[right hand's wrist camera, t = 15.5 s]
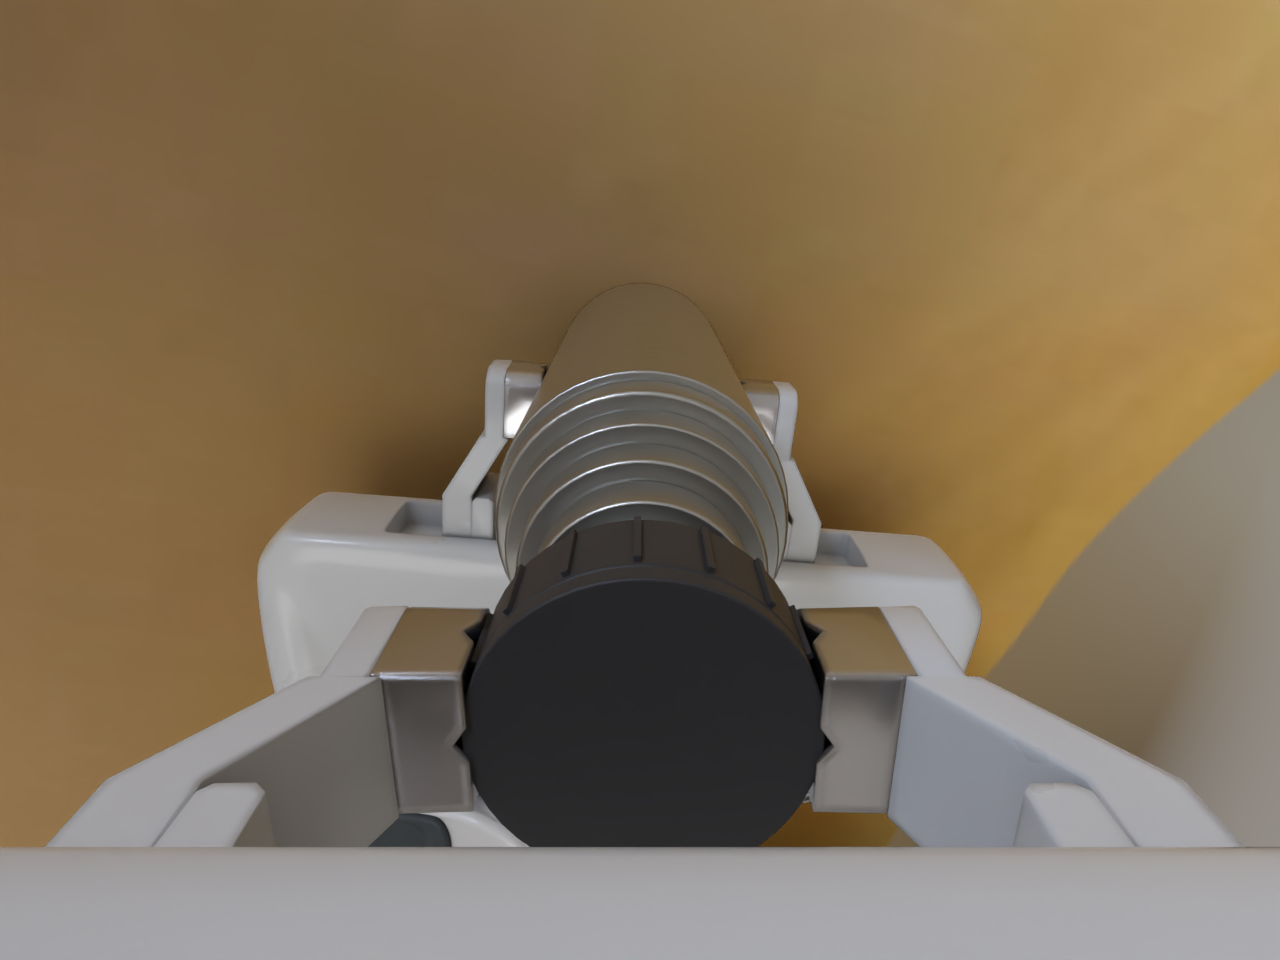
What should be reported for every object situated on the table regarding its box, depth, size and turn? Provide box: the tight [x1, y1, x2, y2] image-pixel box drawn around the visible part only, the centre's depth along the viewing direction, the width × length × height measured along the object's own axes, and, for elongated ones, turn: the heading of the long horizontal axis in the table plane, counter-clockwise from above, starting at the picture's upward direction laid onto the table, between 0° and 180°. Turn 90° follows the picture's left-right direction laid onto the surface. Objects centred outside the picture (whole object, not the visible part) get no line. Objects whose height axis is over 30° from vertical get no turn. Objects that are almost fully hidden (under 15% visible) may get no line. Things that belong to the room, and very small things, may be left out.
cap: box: [461, 516, 825, 847], centre depth 9 cm, size 4×4×2 cm
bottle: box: [495, 283, 789, 582], centre depth 18 cm, size 5×5×19 cm
